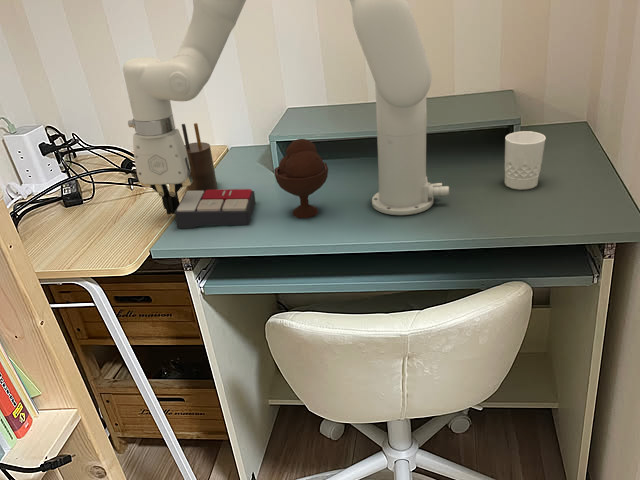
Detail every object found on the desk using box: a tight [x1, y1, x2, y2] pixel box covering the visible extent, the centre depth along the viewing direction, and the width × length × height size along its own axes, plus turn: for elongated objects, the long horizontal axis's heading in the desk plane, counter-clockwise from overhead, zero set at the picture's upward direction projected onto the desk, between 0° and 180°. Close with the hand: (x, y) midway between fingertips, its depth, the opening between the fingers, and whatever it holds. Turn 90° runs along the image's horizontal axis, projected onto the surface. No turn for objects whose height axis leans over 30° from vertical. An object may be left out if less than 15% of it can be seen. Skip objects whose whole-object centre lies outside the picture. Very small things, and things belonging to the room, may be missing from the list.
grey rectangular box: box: [174, 188, 256, 229], centre depth 135 cm, size 11×4×15 cm
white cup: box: [504, 130, 547, 191], centre depth 134 cm, size 8×8×10 cm
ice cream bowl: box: [274, 138, 329, 219], centre depth 129 cm, size 11×11×15 cm
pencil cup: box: [181, 122, 218, 192], centre depth 145 cm, size 7×7×16 cm
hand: (172, 211), depth 136 cm, fingers closed
